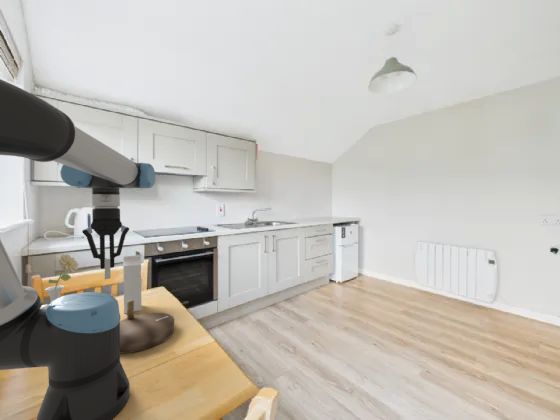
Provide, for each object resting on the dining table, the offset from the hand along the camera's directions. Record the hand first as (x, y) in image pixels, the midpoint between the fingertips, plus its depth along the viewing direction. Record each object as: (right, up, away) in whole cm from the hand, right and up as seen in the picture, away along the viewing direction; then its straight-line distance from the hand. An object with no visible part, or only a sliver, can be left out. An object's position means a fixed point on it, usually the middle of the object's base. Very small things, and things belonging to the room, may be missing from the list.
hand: (107, 277), depth 82 cm
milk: (-2, -18, +18) cm, 26 cm away
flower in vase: (-21, -18, +5) cm, 28 cm away
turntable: (+12, -18, -2) cm, 22 cm away
